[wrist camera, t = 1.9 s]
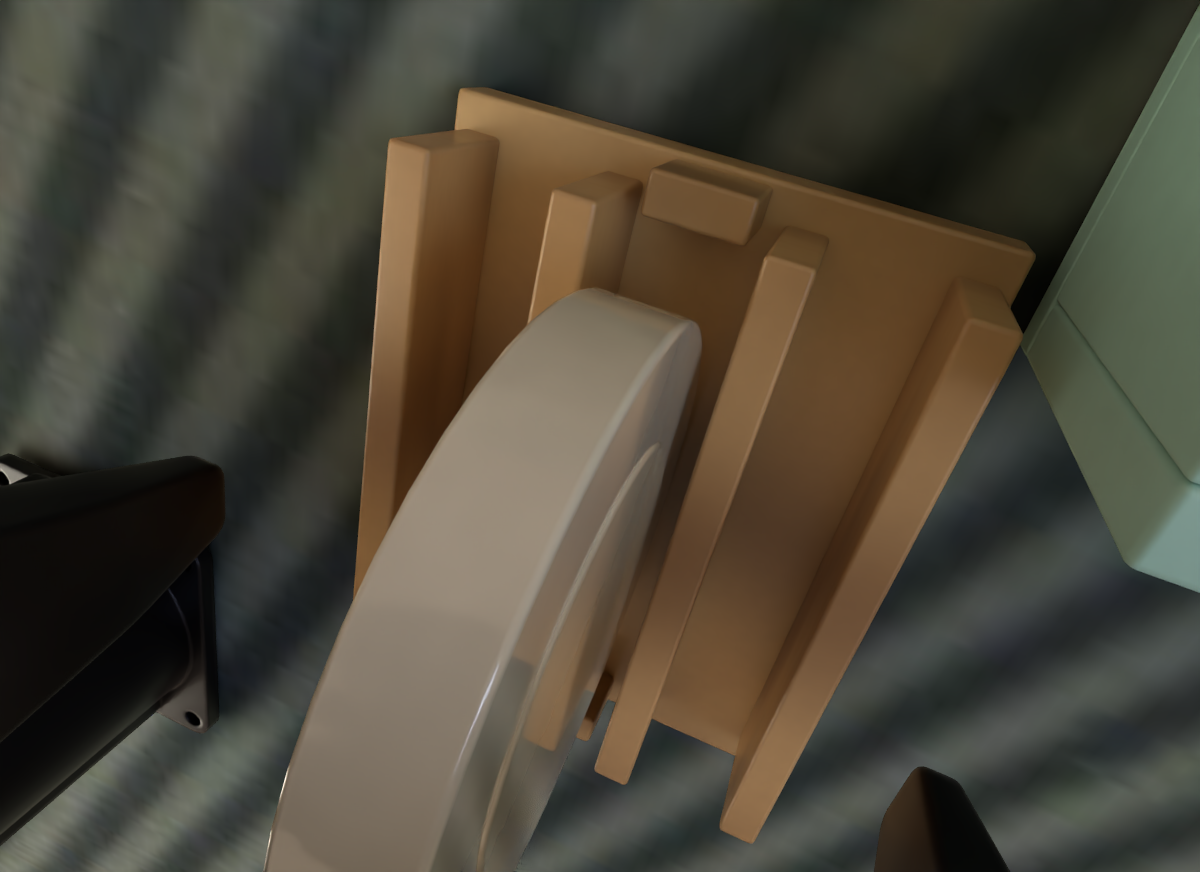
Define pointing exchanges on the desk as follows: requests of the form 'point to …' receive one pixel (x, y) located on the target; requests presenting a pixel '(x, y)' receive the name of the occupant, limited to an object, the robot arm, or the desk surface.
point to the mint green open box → (1137, 333)
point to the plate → (494, 601)
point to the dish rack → (703, 394)
